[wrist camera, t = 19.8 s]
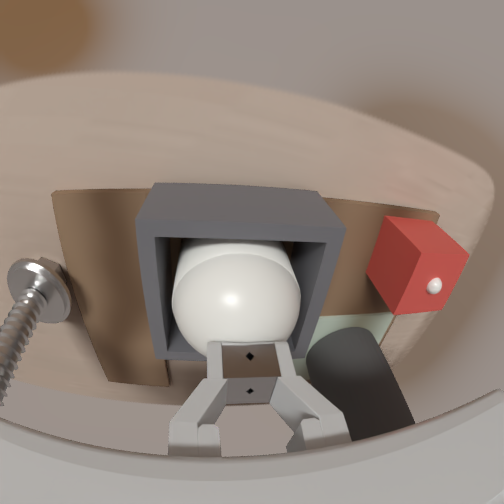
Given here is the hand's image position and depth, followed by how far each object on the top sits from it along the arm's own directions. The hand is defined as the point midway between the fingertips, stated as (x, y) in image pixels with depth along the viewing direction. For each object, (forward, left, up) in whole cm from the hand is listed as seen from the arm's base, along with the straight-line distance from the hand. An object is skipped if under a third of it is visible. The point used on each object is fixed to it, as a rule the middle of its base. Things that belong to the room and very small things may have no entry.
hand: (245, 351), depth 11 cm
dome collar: (0, 0, -6) cm, 7 cm away
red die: (+10, +1, -6) cm, 12 cm away
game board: (+1, -5, -7) cm, 9 cm away
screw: (-12, -2, -7) cm, 14 cm away
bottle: (+9, -9, -6) cm, 14 cm away
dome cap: (0, 0, -7) cm, 7 cm away
